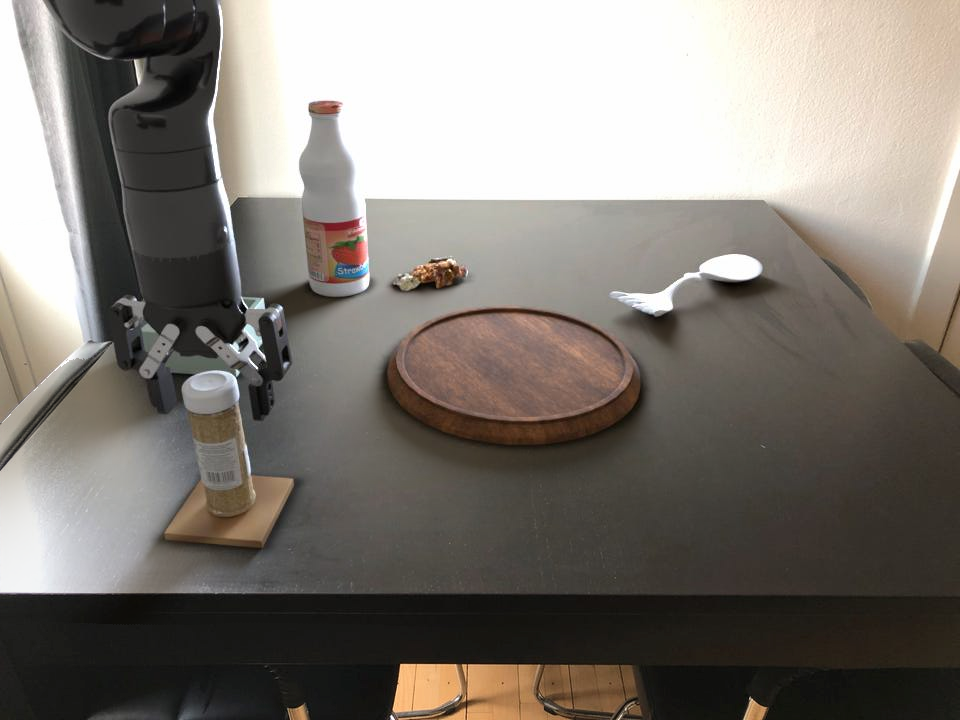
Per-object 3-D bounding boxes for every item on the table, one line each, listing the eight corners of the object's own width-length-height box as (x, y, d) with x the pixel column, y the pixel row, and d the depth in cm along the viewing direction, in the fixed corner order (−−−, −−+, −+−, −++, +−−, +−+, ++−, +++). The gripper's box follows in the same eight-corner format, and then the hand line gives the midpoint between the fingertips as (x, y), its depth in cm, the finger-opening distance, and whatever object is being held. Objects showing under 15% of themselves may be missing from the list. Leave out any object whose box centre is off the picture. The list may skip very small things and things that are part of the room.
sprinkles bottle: (264, 491, 72) (245, 371, 65) (242, 523, 68) (220, 398, 61) (220, 485, 72) (197, 365, 66) (196, 515, 68) (169, 392, 62)
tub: (147, 372, 93) (137, 331, 90) (187, 331, 103) (180, 292, 100) (236, 378, 92) (230, 337, 89) (268, 336, 102) (263, 297, 99)
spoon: (605, 311, 112) (607, 290, 110) (724, 262, 130) (727, 243, 129) (653, 332, 106) (657, 310, 104) (770, 278, 124) (775, 258, 123)
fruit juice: (329, 271, 123) (314, 95, 110) (380, 280, 120) (371, 100, 107) (298, 292, 115) (277, 105, 102) (351, 302, 112) (337, 111, 99)
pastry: (387, 283, 119) (386, 262, 118) (448, 266, 126) (448, 246, 124) (411, 297, 115) (411, 276, 113) (473, 280, 121) (473, 259, 119)
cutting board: (472, 480, 75) (472, 460, 74) (347, 351, 99) (345, 334, 98) (694, 396, 90) (698, 378, 89) (540, 301, 114) (541, 286, 113)
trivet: (165, 541, 67) (163, 533, 66) (207, 479, 75) (205, 471, 74) (262, 549, 66) (261, 541, 66) (294, 486, 74) (293, 478, 74)
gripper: (288, 225, 60) (306, 396, 68) (119, 216, 61) (156, 385, 69) (254, 259, 53) (279, 443, 61) (66, 248, 54) (114, 431, 62)
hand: (214, 412), depth 65 cm, fingers open, 8 cm apart
